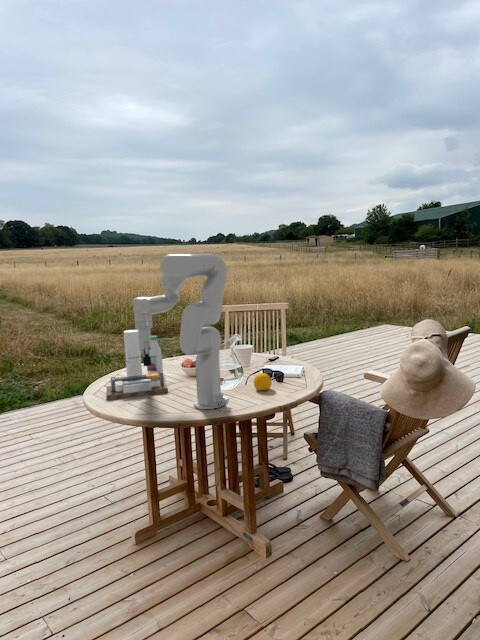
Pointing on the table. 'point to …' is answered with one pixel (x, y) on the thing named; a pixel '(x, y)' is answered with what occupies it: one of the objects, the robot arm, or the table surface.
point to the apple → (262, 381)
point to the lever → (137, 377)
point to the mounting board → (119, 392)
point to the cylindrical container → (132, 353)
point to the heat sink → (137, 384)
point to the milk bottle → (155, 357)
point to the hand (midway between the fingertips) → (147, 365)
